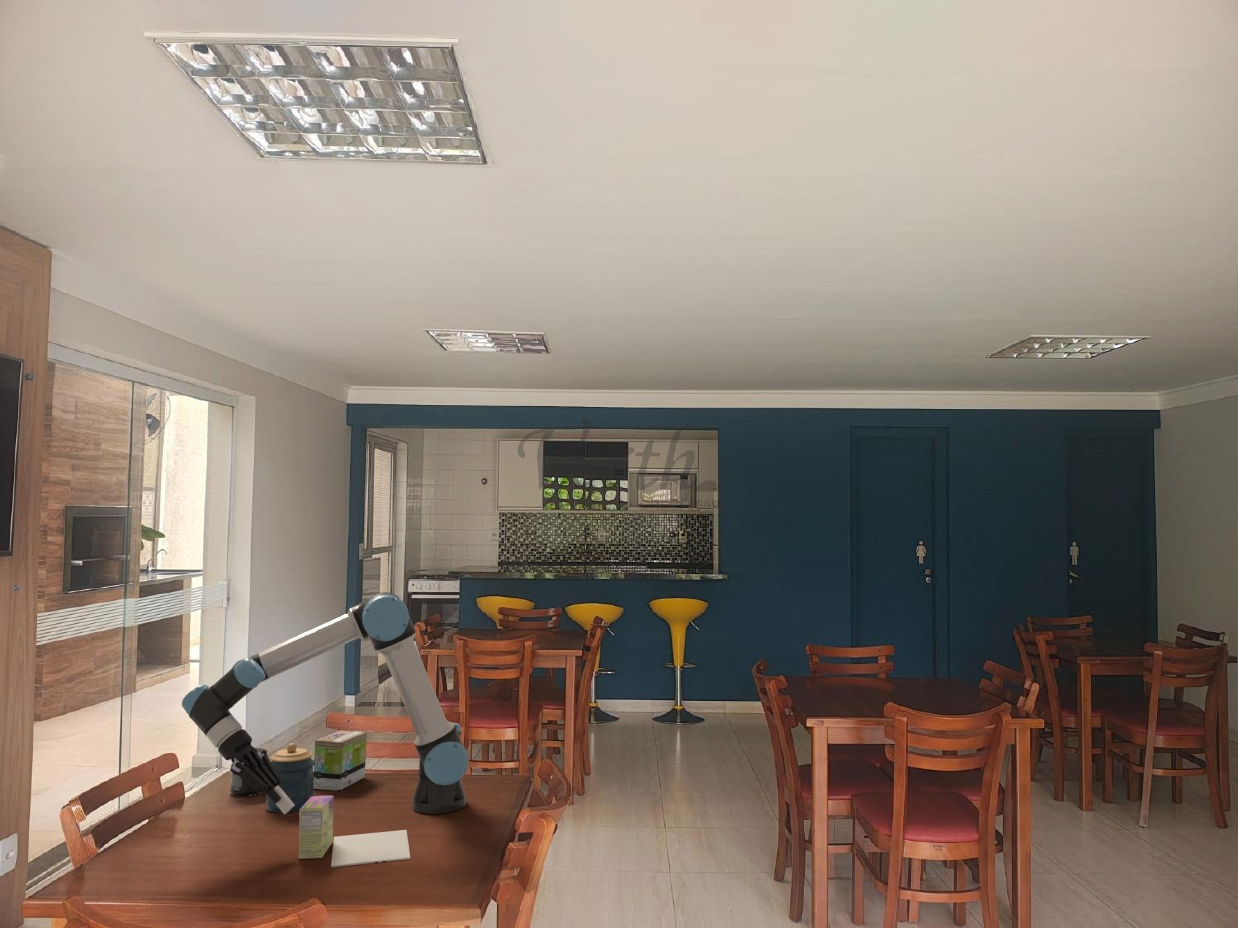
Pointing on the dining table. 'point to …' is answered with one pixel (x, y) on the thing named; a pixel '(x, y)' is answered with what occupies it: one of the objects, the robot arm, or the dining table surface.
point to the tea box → (339, 760)
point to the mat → (370, 848)
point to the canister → (293, 776)
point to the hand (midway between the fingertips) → (289, 809)
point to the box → (315, 827)
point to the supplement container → (241, 783)
